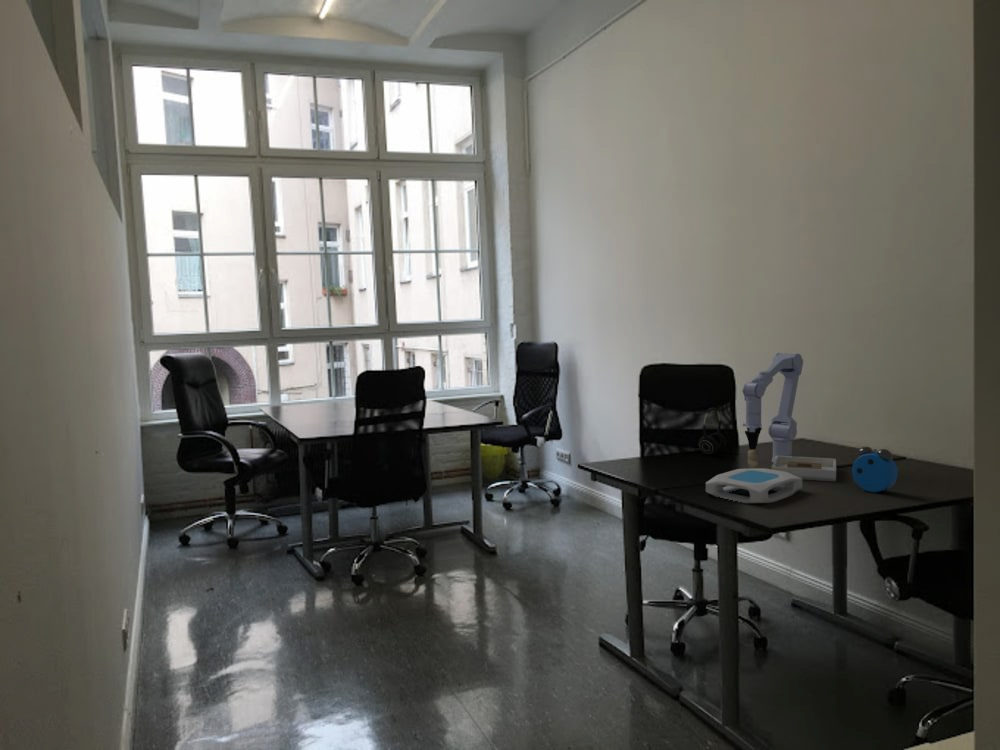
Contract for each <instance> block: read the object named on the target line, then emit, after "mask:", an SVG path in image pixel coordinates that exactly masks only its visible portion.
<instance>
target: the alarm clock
mask: <svg viewBox="0 0 1000 750" xmlns="http://www.w3.org/2000/svg"><path fill="white" fill-rule="evenodd" d="M872 451H873V452H872ZM857 455H858V456H859V457H857V458H856V459H855V461H854V462H853V464H852V468H851V469H852V476H853V480H854V482H855V483H856V484H857V485H858V486H859V487H860V488H861V489H862V490H864V491H866V492H870V493H879V492H882V491H886V492H889V491H888V489H889V488H892V487H893V486H894V484H895V483H896V481H897V479H898V475H899V474H898V473H899V472H898V467H897V464H896V462H895V461H894V460H893V454H892V452H891V451H890V450H889V449H887V448H886V449H885V448H880V449H879V450H878V449H876V448H875V449H874V448H873V449H872V448H871V447H869V446H861V447H860V448H859V449H858V450H857Z"/></svg>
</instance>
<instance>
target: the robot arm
mask: <svg viewBox="0 0 1000 750" xmlns="http://www.w3.org/2000/svg"><path fill="white" fill-rule="evenodd" d="M803 366H804V359H803V357H802V355H801V354H800V353H786V352H785V353H783V352H776V353H775V355H774V356H773V359H772V363H771V364H769V367H767V369H766V370H763V371H759V372H758V374H757V375H756V376H755V377H754V378H753V379H752V381H748V382H747V383H745V384H744V385H743V389H742V393H743V396H744V401H745V423H742V426H743V427H746V429H747V430H745V431H744V434H745V436H746V438H747V442H748V447H749V450H757V446H758V442H759V436H760V434H761V431H762V430H763V428H762V427H763V424H762V397H764V395H765V393H766V392H765V391H766V390H767V388H768V387H769V385H770V384H772V382H773V381H774V376H776V375H777V374H779V373H780V374H781V375H783V377H784V381H783V386H782V392H781V397H780V402H779V408H778V411H777V412H778V413H777V415H775V416H773V418H771V422H770V424H769V426H768V428H767V430H768V431H767V432H768V436H770V438H771V440H772V458H771V461H770V462H771V463H773V462H774V459H775V456H792V453H793V450H792V448H793V444H792V443H793V441H794V439H795V438H796V436H797V433H798V431H797V428H798V427H797V425H798V423H797V421H796V420H795V419H794V418H793V412H794V410H793V409H794V405H795V401H796V395H797V389H798V385H799V378H800V376H801V375H802V371H803ZM792 457H793V456H792Z"/></svg>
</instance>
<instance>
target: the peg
mask: <svg viewBox="0 0 1000 750" xmlns="http://www.w3.org/2000/svg"><path fill="white" fill-rule="evenodd" d="M758 453H759V452H758V450H757V449H755V450H754V449H748V450H747V469H756V468H758V460H759V459H758V458H759V457H758V455H759V454H758Z"/></svg>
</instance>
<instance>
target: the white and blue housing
mask: <svg viewBox="0 0 1000 750" xmlns="http://www.w3.org/2000/svg"><path fill="white" fill-rule="evenodd" d="M802 488H803V479H802V478H800V477H797V476H795V475H792V474H790V473H788V472H784V471H777V470H772V468H759V467H757V468H756V469H748V468H737V469H733V470H730V471H726V472H723V473H719V474H717V475H715V476H713V477H712V478H711V479H709V480H707V481H706V482H705V493H708V494H709V495H711V496H713V497H715V498H718V497H720V498H724V499H729V500H728V501H730V500H733V501H732V502H735V501H738V502H737V503H740V502H742V503H741V504H771V503H774V502H777V501H780V500H783V499H785V498H788V497H790V496H793V495H795V494H796V493H797V492H798V491H799V490H801V489H802ZM739 489H740V490H746V491H748V493H749V496H747V495H746V496H745V495H740V494H736V493H733V492H732V491H734V492H736V490H737V491H739ZM771 490H772V491H775V492H773V493H770V494H769V491H771ZM729 492H731V493H729ZM720 498H719V499H720ZM724 499H723V500H724Z"/></svg>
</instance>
